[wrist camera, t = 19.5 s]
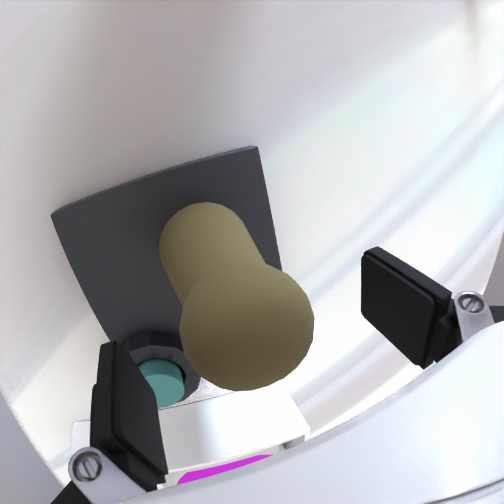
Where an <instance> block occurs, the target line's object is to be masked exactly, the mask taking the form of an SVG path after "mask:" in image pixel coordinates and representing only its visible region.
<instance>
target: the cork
mask: <svg viewBox="0 0 504 504" xmlns="http://www.w3.org/2000/svg"><path fill="white" fill-rule="evenodd" d="M158 249H159V254H160V260H161V263H162V265H163V268H164V270H165V272H166V274H167V276H168V278H169V280H170V282H171V284H172V286H173V288H174V290H175V292H176V294H177V296H178V298H179V300H180V302H181V304H182V306H183V310H182V315H181V321H180V327H179V331H180V337H181V341H182V346H183V350H184V354H185V356H186V358H187V359H188V361H189V362H190V364H191V365H192V366H193V368H194V369H195V370H196V372H197V373H198V374H199V375H200V376H201V377H202V378H204V379H206V380H207V381H209V382H211V383H213V384H214V385H216V386H218V387H220V388H223V389H227V390H232V391H252V390H256V389H260V388H263V387H267V386H269V385H271V384H273V383H275V382H277V381H279V380H281V379H283V378H284V377H286V376H287V375H288V374H289V373H291V372H292V371H293V370H294V369H295V368H297V366H298V365H299V364H300V363H301V361H302V360H303V359H304V357H305V356H306V355H307V352H308V350H309V348H310V345H311V343H312V341H313V329H314V315H313V311H312V308H311V305H310V302H309V300H308V297H307V295H306V293H305V292H304V291H303V290H302V289H301V287H300V286H299V285H298V284H297V283H296V282H295V281H294V280H293V279H292V278H291V277H290V276H289V275H288V274H286V273H284V272H282V271H280V270H278V269H276V268H274V267H272V266H270V265H267V264H266V263H265V262H264V260H263V258H262V256H261V254H260V252H259V251H258V249H257V247H256V245H255V243H254V242H253V240H252V238H251V236H250V234H249V232H248V231H247V229H246V227H245V225H244V223H243V222H242V220H241V219H240V218H239V217H238V216H237V215H236V214H235V212H234V211H232V210H230V209H228V208H227V207H225V206H223V205H221V204H215V203H210V202H204V203H196V204H191V205H189V206H187V207H185V208H183V209H181V210H179V211H178V212H177V213H176V214H175V215H174V216H173V217H171V218H170V219H169V220H168V222H167V223H166V225H165V227H164V229H163V231H162V233H161V236H160V242H159V248H158Z"/></svg>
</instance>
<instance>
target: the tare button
mask: <svg viewBox="0 0 504 504" xmlns="http://www.w3.org/2000/svg"><path fill="white" fill-rule="evenodd" d="M138 368H139V369H140V371H141V373H142V374H143V376H144V377H145V379H146V380H147V382H148V383H149V384H150V386H151V387H152V389H153V390H154V393H155V395H156V400H157V407H165V406H170V405H173V404H175V403H177V402H178V401H179V400H180V399H181V398H182V397H183V395H184V384H183V380H182V375H181V371H180V369H179V368H178V367H177V366H176V365H175V364H174V363H172V362H170V361H168V360H164V359H151V360H147V361H145V362H143V363H141V364H140V365H139V366H138Z"/></svg>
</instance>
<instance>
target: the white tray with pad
mask: <svg viewBox="0 0 504 504" xmlns="http://www.w3.org/2000/svg"><path fill="white" fill-rule="evenodd" d="M158 414H159V421H160V428H161V434H162V440H163V445H164V451H165V456H166V461H167V466H168V475H165V479H166V483H163V484H158V485H157V488H158V490H159V489H163V488H167V487H171V486H174V485H178V484H183V483H187V482H191V481H195V480H198V479H202V478H206V477H209V476H213V475H216V474H219V473H222V472H226V471H229V470H232V469H235V468H238V467H241V466H244V465H247V464H250V463H253V462H256V461H259V460H261V459H264V458H267V457H269V456H272V455H274V454H277V453H279V452H282V451H284V450H287V449H289V448H292V447H294V446H296V445H298V444H301V443H303V442H305V441H307V440H310V431H311V429H310V428H309V426H308V424H307V423H306V421H305V420H304V418H303V416H302V415H301V413H300V412H299V410H298V408H297V407H296V405H295V403H294V402H293V400H292V398H291V397H290V395H289V393H288V392H287V390H286V389H285V387H284V385H283V384H282V382H281V380H279V381H277V382H275V383H273V384H271V385H269V386H267V387H263V388H260V389H256V390H252V391H238V392H234V393H231V394H227V395H223V396H220V397H216V398H212V399H208V400H204V401H200V402H196V403H191V404H187V405H182V406H178V407H173V408H168V409H163V410H158ZM84 447H90V421H80V422H73V431H72V443H71V457H72V456H73V454H74V453H75V452H76V451H78V450H79V449H81V448H84Z"/></svg>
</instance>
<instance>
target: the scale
mask: <svg viewBox="0 0 504 504" xmlns="http://www.w3.org/2000/svg"><path fill="white" fill-rule="evenodd" d="M204 202H210V203H215V204H221V205H223V206H225V207H227V208H228V209H230V210H232V211H234V212H235V214H236V215H237V216H238V217H239V218H240V219H241V220H242V222H243V223H244V225H245V227H246V229H247V231H248V232H249V234H250V236H251V238H252V240H253V242H254V243H255V245H256V247H257V249H258V251H259V252H260V254H261V256H262V258H263V260H264V262H265V263H266V264H267V265H270V266H272V267H274V268H276V269H278V270H280V271H282V268H281V262H280V257H279V251H278V246H277V241H276V235H275V230H274V225H273V220H272V215H271V209H270V204H269V199H268V194H267V189H266V184H265V179H264V174H263V170H262V165H261V160H260V155H259V150H258V147H257V146H249V147H245V148H241V149H237V150H233V151H229V152H225V153H221V154H217V155H213V156H210V157H206V158H202V159H199V160H195V161H192V162H188V163H185V164H182V165H178V166H175V167H172V168H168V169H165V170H162V171H159V172H156V173H153V174H150V175H147V176H144V177H141V178H138V179H135V180H132V181H129V182H126V183H123V184H121V185H118V186H115V187H112V188H110V189H107V190H104V191H102V192H99V193H97V194H94V195H91V196H89V197H86V198H84V199H81V200H79V201H77V202H74V203H72V204H69V205H67V206H65V207H62V208H60V209H58V210H56V211H54V212H53V213H52V214H51V218H52V221H53V224H54V226H55V229H56V231H57V234H58V236H59V239H60V241H61V244H62V246H63V249H64V251H65V253H66V256H67V258H68V260H69V263H70V265H71V267H72V269H73V271H74V274H75V276H76V278H77V280H78V282H79V284H80V286H81V288H82V290H83V292H84V294H85V296H86V298H87V300H88V302H89V304H90V306H91V308H92V310H93V312H94V313H95V315H96V317H97V319H98V321H99V322H100V324H101V326H102V328H103V330H104V331H105V333H106V335H107V336H108V338H109V340H110V342H111V341H117V342H118V343H123V344H124V346H125V347H126V349H127V350H128V352H129V354H130V355H131V357H132V359H133V360H134V362H135V363H136V365H137V366H139V365H140V364H141V363H143V362H145V361H147V360H151V359H164V360H168V361H170V362H172V363H174V364H175V365H176V366H177V367H178V368H179V369H180V371H181V375H182V380H183V384H184V395H183V397H182V398H181V399H180V400H179V401H178V402H181V401H183V400H185V399H186V398H187V397H189V396H190V395H191V394H192V393H193V392H194V391H196V390H197V389H198V386H199V382H200V378H201V376H200V375H199V374H198V373H197V372H196V370H195V369H194V368H193V366H192V365H191V364H190V362H189V361H188V359H187V358H186V356H185V354H184V350H183V346H182V341H181V337H180V331H179V327H180V321H181V315H182V310H183V306H182V304H181V302H180V300H179V298H178V296H177V294H176V292H175V290H174V288H173V286H172V284H171V282H170V280H169V278H168V276H167V274H166V272H165V270H164V268H163V265H162V263H161V260H160V254H159V249H158V248H159V242H160V236H161V233H162V231H163V229H164V227H165V225H166V223H167V222H168V220H169V219H170V218H171V217H173V216H174V215H175V214H176V213H177V212H178V211H179V210H181V209H183V208H185V207H187V206H189V205H191V204H196V203H204Z"/></svg>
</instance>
